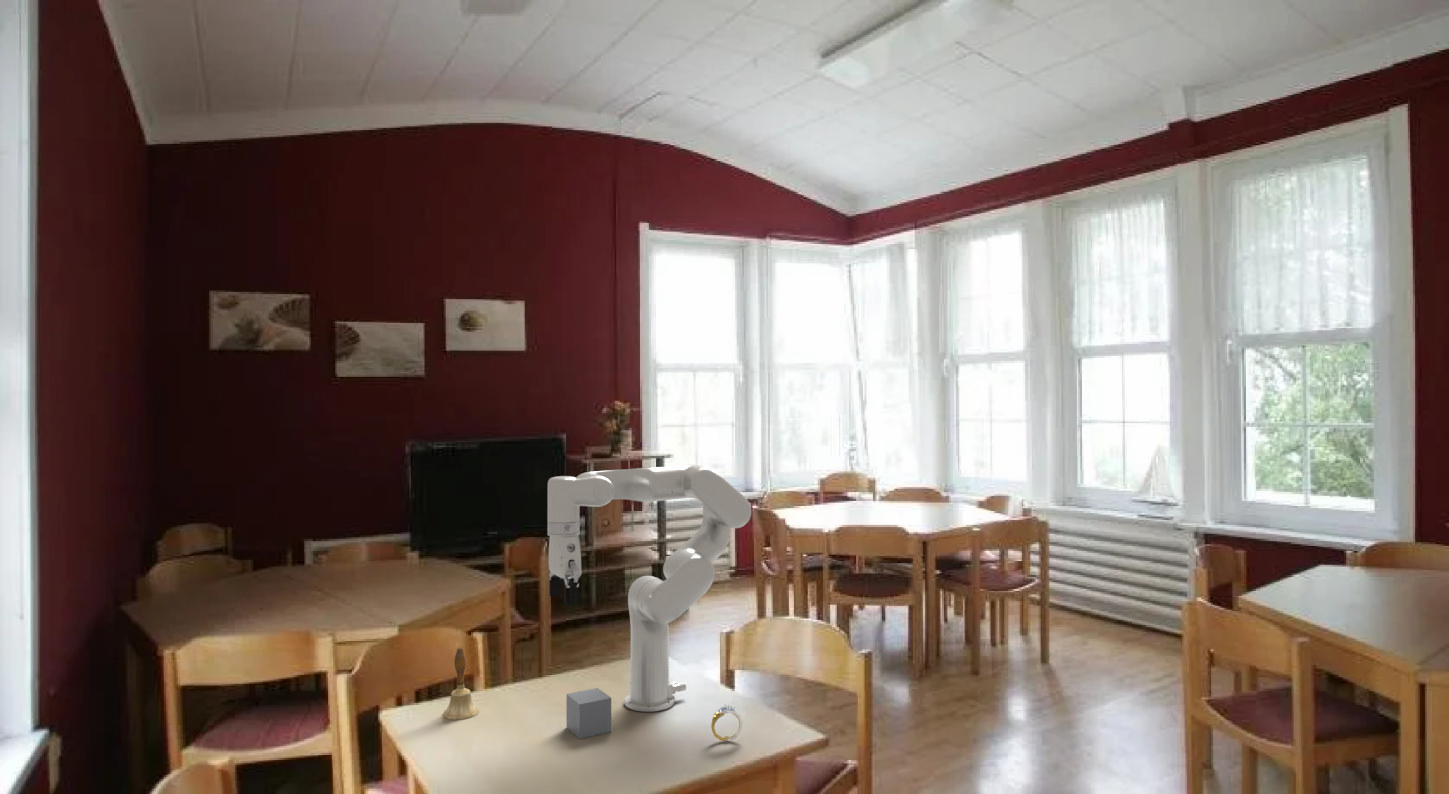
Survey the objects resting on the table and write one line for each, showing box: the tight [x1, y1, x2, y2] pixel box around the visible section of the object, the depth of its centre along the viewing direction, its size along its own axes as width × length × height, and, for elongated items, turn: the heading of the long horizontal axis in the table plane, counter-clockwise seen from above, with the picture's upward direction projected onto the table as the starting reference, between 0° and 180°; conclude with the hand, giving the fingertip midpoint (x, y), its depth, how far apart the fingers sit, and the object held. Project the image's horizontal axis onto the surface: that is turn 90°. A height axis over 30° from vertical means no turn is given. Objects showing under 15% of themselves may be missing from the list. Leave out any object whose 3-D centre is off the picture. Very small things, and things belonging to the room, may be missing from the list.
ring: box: [710, 704, 743, 742], centre depth 191 cm, size 7×3×8 cm, turn 92°
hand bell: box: [442, 647, 479, 721], centre depth 208 cm, size 8×8×16 cm
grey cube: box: [566, 687, 612, 740], centre depth 198 cm, size 8×8×8 cm
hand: (563, 600), depth 205 cm, fingers open, 9 cm apart
